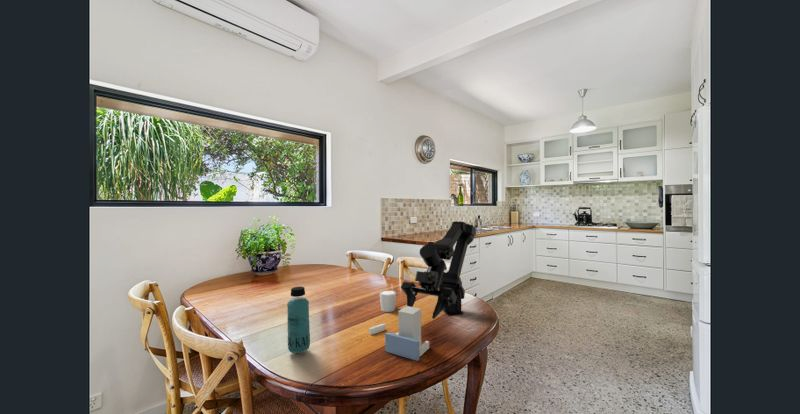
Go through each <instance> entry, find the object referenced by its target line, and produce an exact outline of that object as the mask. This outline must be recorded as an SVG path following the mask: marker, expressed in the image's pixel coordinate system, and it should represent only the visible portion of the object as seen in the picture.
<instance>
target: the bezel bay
mask: <svg viewBox="0 0 800 414" xmlns="http://www.w3.org/2000/svg"><path fill="white" fill-rule="evenodd" d="M384 345H385V346H384V347H385V352H386V353H389V354H393V355H396V356H399V357H403V358H406V359H409V360H412V361H417V362H418V361H419V360H420V357H421V356H423V355H424V353H426V352H427V351H428V350H429V349H430V341H428V340H425V341H424V342H423V343H421V346H420V347H419V340H417V339H414V338H407V337H403V336H399V335H396V334H395V332H385V333H384Z"/></svg>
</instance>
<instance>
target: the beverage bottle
mask: <svg viewBox="0 0 800 414" xmlns="http://www.w3.org/2000/svg"><path fill="white" fill-rule="evenodd" d="M305 295H306V289H305V287H304V286H294V287H291V288H290V296H291V297H292V298H290V299H289V300H288V302H287V303H286V306H287V309H286V311H287V330H286V331H287V336H286V337H287V349H288V351H289V352H290V353H293V354H300V353H304V352H306V351H308V350H309V349H310V345H311V332H310V306H309V305H310V302H309V300H308V298H306V297H304V296H305Z"/></svg>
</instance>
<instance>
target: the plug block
mask: <svg viewBox="0 0 800 414" xmlns="http://www.w3.org/2000/svg"><path fill="white" fill-rule="evenodd" d="M397 313H398V332H399V336H403V337H407V338H414V339H417V340H419V347H420V346H421V345H422V308H419V307H414V306H413V307H410V306H407V305H406V306H404V307H403V308H401V309H399V310H398V312H397Z"/></svg>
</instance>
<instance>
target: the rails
mask: <svg viewBox="0 0 800 414" xmlns="http://www.w3.org/2000/svg"><path fill="white" fill-rule="evenodd" d="M385 330H386V324H385V323H381V324H377V325H374V326H371V327H369V328H368V334H369V335H370V336H372V335H375V334H377V333H378V334H379V333H380V332H383V331H385ZM394 333H395V332H394ZM395 334H396V335H399V331H398V332H396V333H395Z"/></svg>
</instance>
